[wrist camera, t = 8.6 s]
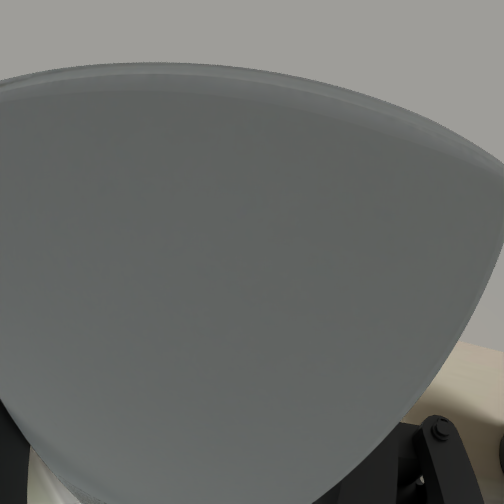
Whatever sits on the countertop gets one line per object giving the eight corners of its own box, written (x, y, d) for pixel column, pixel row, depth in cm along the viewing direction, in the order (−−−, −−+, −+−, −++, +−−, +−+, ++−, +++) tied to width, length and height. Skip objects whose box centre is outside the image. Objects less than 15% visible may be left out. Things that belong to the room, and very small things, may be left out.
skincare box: (147, 410, 14) (158, 116, 9) (254, 440, 14) (344, 147, 9) (89, 519, 7) (-65, 93, 1) (230, 566, 6) (548, 133, 1)
